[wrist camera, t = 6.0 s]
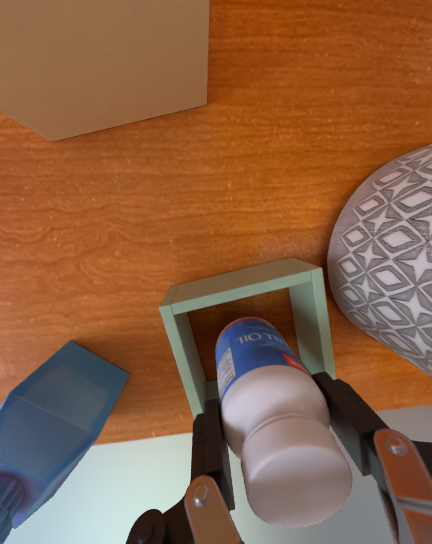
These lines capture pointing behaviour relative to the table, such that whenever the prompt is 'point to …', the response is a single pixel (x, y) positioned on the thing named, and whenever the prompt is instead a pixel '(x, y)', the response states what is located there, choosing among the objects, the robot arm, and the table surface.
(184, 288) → the green hollow square box
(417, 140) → the table surface
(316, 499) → the pill bottle
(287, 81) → the table surface
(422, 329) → the planter
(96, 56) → the stand
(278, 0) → the table surface
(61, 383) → the perfume bottle
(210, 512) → the robot arm
